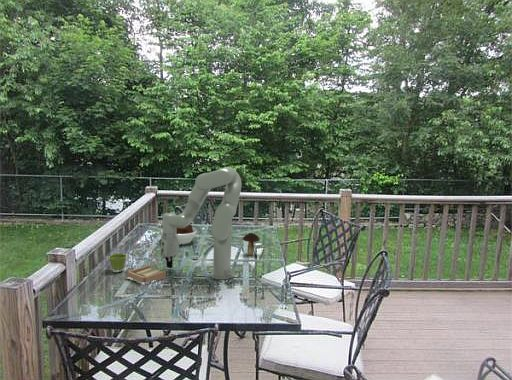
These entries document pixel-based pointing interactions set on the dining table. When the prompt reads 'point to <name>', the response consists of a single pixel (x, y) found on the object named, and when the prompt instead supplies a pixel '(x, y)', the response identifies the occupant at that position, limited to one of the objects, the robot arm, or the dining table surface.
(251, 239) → the decorative mushroom
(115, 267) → the plant pot
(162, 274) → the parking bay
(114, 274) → the dining table surface
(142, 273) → the beige rectangular block
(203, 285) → the dining table surface
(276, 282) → the dining table surface
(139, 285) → the dining table surface
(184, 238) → the white bowl with filling
